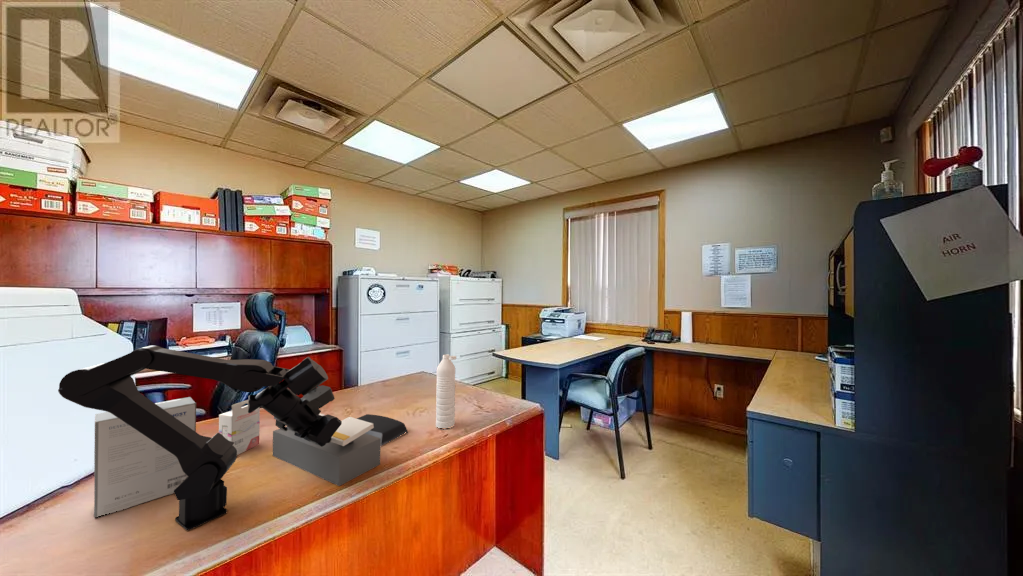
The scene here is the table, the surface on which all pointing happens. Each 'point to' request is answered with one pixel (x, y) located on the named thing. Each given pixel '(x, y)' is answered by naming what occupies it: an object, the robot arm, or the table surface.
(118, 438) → the hard drive box
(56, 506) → the table surface
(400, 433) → the external hard drive
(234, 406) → the ink cartridge box
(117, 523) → the table surface
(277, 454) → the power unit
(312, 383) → the robot arm
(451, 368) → the water bottle
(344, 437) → the rocker amber
